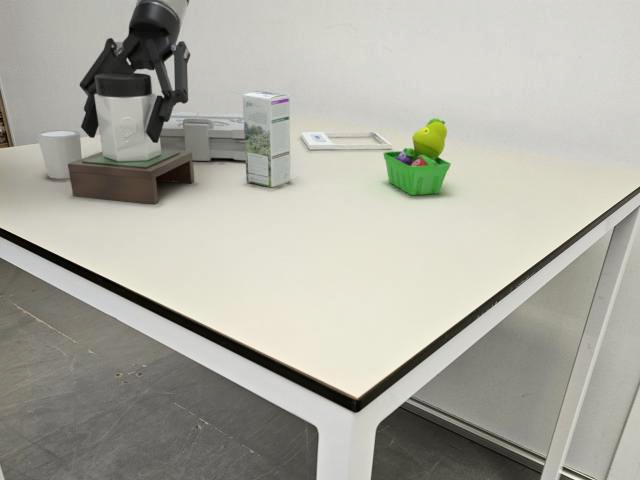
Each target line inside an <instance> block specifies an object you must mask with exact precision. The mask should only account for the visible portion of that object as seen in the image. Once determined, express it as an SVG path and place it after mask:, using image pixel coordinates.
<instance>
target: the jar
mask: <svg viewBox="0 0 640 480" xmlns="http://www.w3.org/2000/svg"><path fill="white" fill-rule="evenodd" d="M95 83H96V90H97V94H95V95H94V97H95V104H96V111H97V118H98V124H99V126H98V131H99V139H100V144H101V150H102V151H101V152H103V156H104V157H106V158H108V159H111V160H114V161H117V162H130V161H148V160H150V159H153V158H155V157H157V156H160V155H161V144H160V137H159V140H158V143H153V142H152V140H151V139H150V137H149V136H148V135H147V133H146V129H147V126H148V122H149V119H150V116H151V113H152V110H153V107H154V104H155V101H156V97H157V95H156V93H153V87H152V85H153V84H152V77H151V74H148V73H147V74H146V73H140V72H139V73H138V72H134V73H106V74H99V75H96V76H95Z"/></svg>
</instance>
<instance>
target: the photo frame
mask: <svg viewBox="0 0 640 480" xmlns="http://www.w3.org/2000/svg"><path fill="white" fill-rule="evenodd" d="M330 137H331V138H333V137H334V138H335V137H336V138H337V137H339V138H340V137H345V138H346V137H349V138H350V137H374V139H376V140H377V141H378V142H380V143H337V144H336V143H334V142H333V141H332V140H331V139H330ZM300 138H301V140H302V141H303V142H304V144H305V145H306V146H307V148H308V150H309V151H310V150H389V149H390V150H392V148H393V144H392V143H391V142H390V141H388V140H387V139H386V138H384V137H383V136H382V135H381V134H379V133H378V132H377V131H300Z"/></svg>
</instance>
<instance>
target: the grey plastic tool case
mask: <svg viewBox="0 0 640 480" xmlns="http://www.w3.org/2000/svg"><path fill="white" fill-rule="evenodd" d="M160 144H161V150H170V151H182V152H192V160H193V161H202V162H203V161H206V162H207V161H208V162H210V161H211V159H233V160H235V161H246V158H245V135H244V113H227V112H225V114H210V113H209V114H207V113H206V114H205V113H199V112H192V111H177V113H176V112H175V113H173V112H172V113H171V116H170V119H169V121H168V122H164V124H163V127H162V131H161V134H160Z"/></svg>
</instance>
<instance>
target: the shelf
mask: <svg viewBox="0 0 640 480" xmlns="http://www.w3.org/2000/svg"><path fill="white" fill-rule="evenodd" d="M68 169H69V175H70V178H69V181H70V187H71V192H72V196H73V197H81V198H89V199H99V200H109V201H118V202H129V203H137V204H148V205H156V204H158V203H159V195H158V188H157V187H158V186H157V181H158V182H159V181H161V182H171V183H181V184H193V183H195V173H194V160H192V152H182V151H170V150H161V155H160V156H157V157H155V158H153V159H150V160H148V161H130V162H117V161H114V160H111V159H108V158H106V157H104V156H103V152H102V151H100V152H97V153H94V154H91V155H88V156H85V157H83V158H82V159H80V160H77V161H74V162H71V163H69V164H68Z"/></svg>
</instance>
